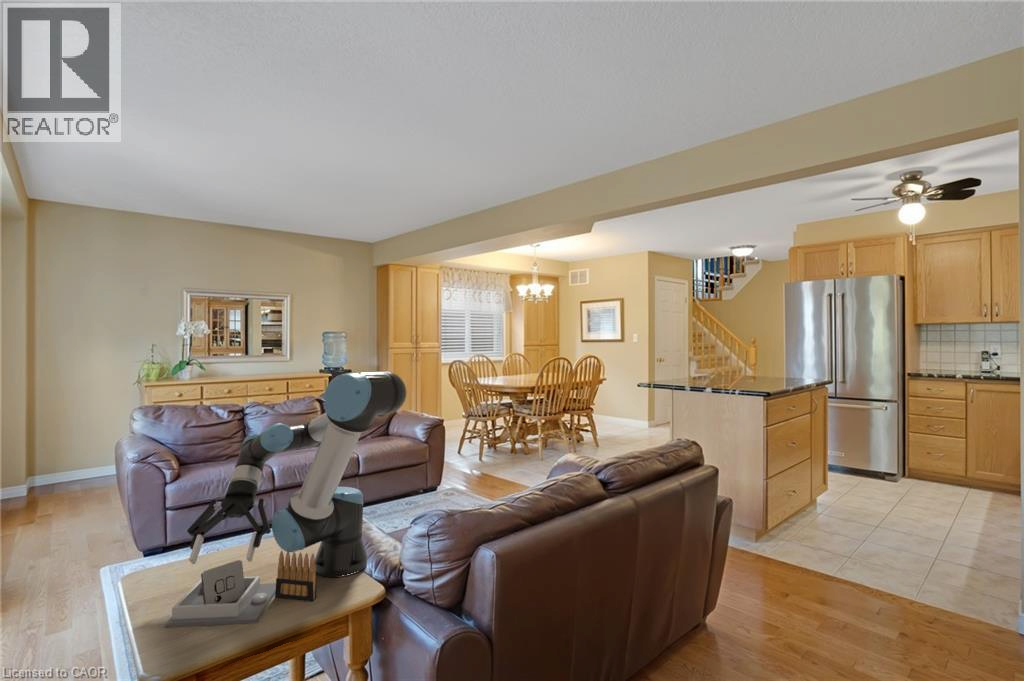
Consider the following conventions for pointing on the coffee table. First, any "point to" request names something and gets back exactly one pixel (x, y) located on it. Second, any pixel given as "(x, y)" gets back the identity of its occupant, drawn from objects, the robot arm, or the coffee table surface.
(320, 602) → the coffee table surface
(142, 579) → the coffee table surface
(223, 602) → the electrical switch
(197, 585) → the housing
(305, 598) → the ammunition clip
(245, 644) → the coffee table surface
